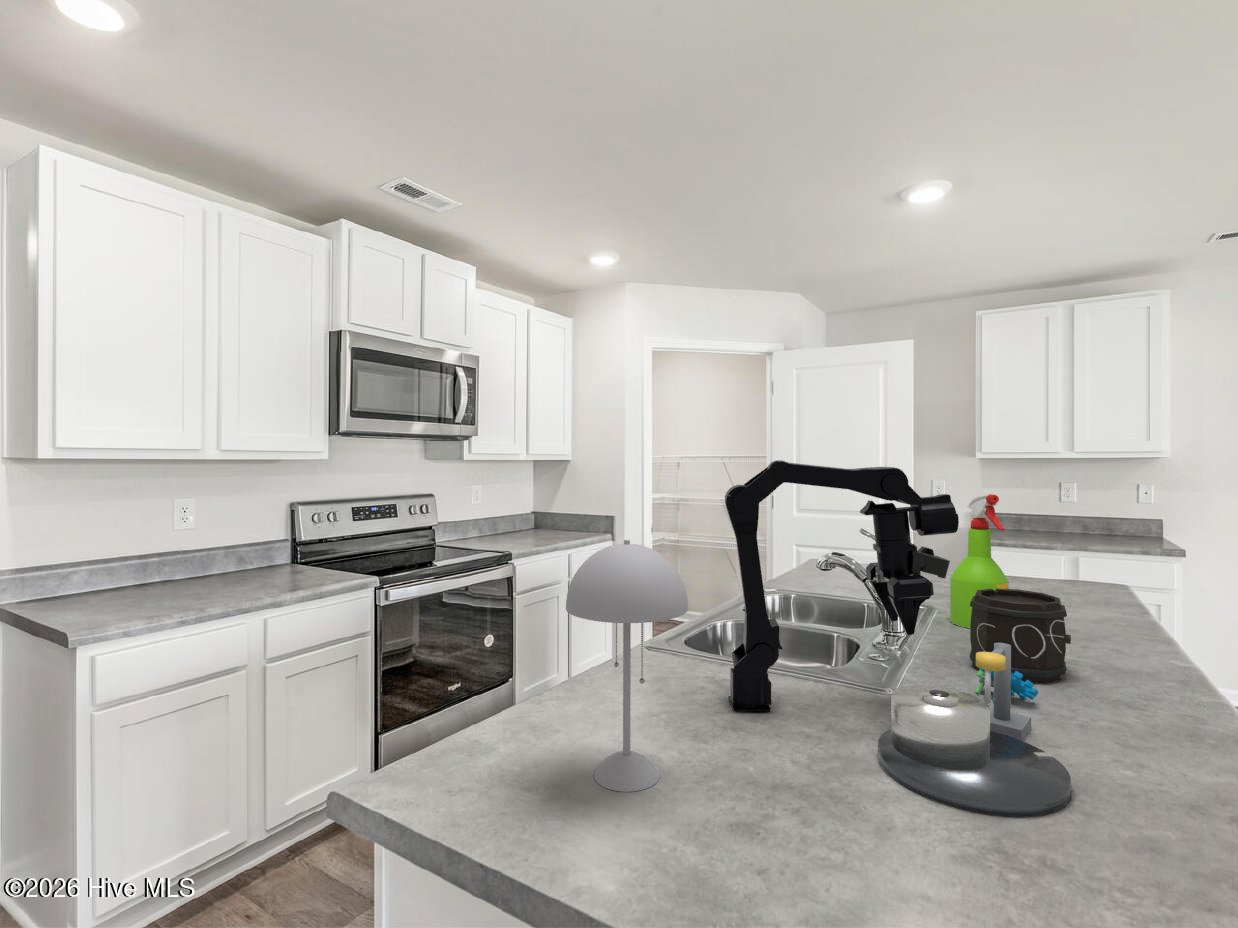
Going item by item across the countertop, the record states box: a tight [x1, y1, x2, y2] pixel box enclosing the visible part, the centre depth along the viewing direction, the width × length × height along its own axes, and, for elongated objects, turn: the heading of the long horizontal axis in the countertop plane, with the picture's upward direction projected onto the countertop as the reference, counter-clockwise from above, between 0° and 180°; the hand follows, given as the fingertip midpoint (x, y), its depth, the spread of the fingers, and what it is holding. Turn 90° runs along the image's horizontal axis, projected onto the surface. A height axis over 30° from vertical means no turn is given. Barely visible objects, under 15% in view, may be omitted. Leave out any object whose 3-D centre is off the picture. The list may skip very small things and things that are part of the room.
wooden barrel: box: [969, 588, 1072, 685], centre depth 138 cm, size 18×18×16 cm
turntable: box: [877, 728, 1072, 818], centre depth 94 cm, size 24×24×2 cm
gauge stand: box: [976, 643, 1032, 742], centre depth 106 cm, size 13×7×14 cm, turn 137°
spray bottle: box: [949, 493, 1009, 628], centre depth 174 cm, size 14×18×35 cm
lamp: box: [565, 539, 689, 793], centre depth 92 cm, size 17×17×33 cm
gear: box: [974, 668, 1039, 702], centre depth 121 cm, size 11×6×10 cm
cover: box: [890, 684, 991, 769], centre depth 97 cm, size 13×13×8 cm
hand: (902, 627), depth 115 cm, fingers open, 9 cm apart
